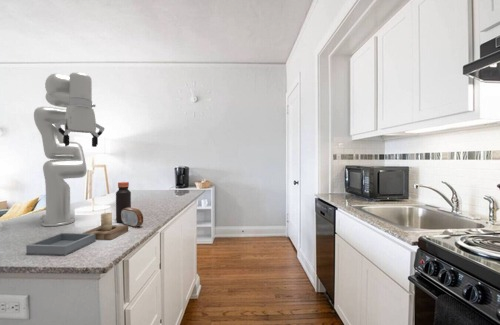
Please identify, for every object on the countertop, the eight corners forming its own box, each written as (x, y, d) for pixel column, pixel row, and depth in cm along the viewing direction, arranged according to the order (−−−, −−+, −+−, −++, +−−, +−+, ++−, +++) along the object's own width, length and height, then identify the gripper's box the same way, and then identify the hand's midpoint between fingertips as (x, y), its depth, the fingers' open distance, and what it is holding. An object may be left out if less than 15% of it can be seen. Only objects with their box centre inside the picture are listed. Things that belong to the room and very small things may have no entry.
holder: (82, 239, 97) (82, 232, 97) (102, 230, 109) (102, 224, 109) (111, 239, 96) (111, 233, 96) (128, 231, 108) (128, 225, 108)
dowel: (98, 236, 101) (98, 214, 101) (105, 233, 105) (105, 212, 105) (108, 236, 100) (107, 214, 100) (114, 233, 104) (114, 212, 104)
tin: (143, 227, 114) (143, 209, 114) (137, 228, 112) (137, 210, 112) (125, 222, 123) (125, 206, 122) (119, 224, 120) (119, 207, 120)
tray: (26, 254, 81) (26, 245, 81) (61, 240, 95) (61, 232, 95) (65, 255, 80) (65, 246, 80) (95, 241, 94) (95, 233, 94)
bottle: (125, 223, 121) (124, 183, 121) (112, 222, 122) (112, 183, 122) (133, 220, 128) (133, 182, 127) (122, 219, 129) (122, 181, 129)
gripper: (100, 109, 109) (100, 147, 109) (51, 102, 96) (52, 145, 96) (107, 106, 105) (107, 146, 105) (57, 99, 91) (57, 144, 91)
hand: (81, 146), depth 100 cm, fingers open, 9 cm apart
